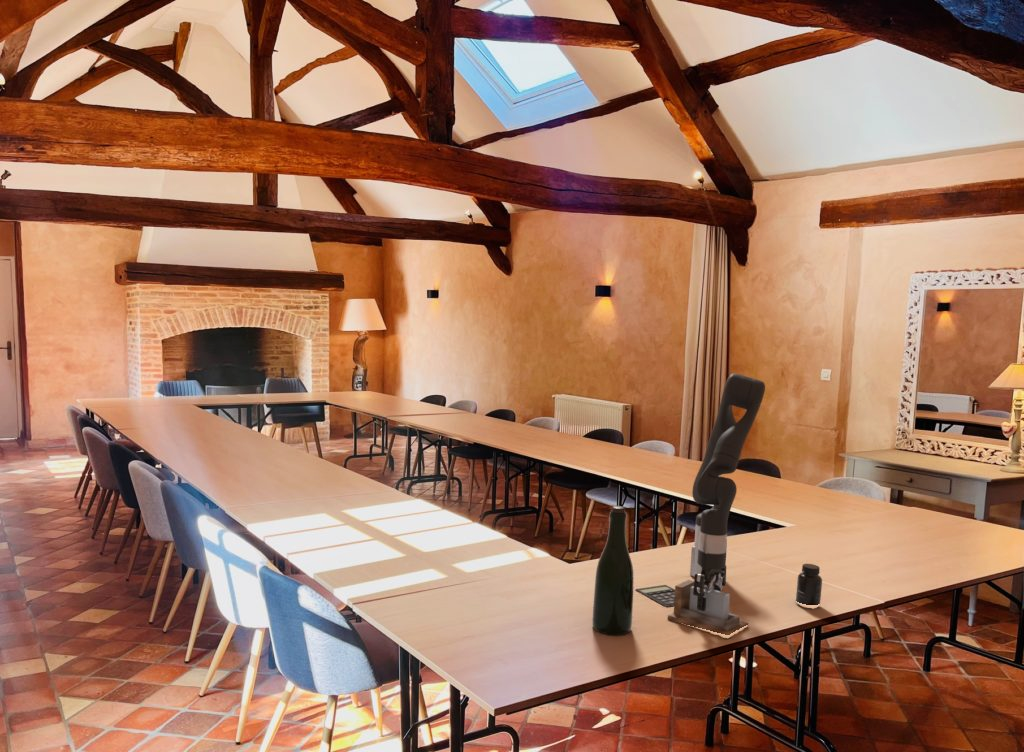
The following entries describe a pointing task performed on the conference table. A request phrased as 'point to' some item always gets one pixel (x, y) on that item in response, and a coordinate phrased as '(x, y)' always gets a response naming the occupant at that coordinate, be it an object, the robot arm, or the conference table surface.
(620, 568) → the dark green wine bottle
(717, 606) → the gray rectangular block
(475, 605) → the conference table surface
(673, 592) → the calculator
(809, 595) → the supplement bottle
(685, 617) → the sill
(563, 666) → the conference table surface
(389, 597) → the conference table surface
